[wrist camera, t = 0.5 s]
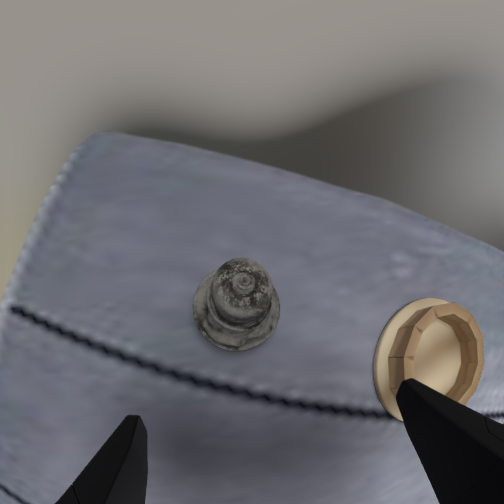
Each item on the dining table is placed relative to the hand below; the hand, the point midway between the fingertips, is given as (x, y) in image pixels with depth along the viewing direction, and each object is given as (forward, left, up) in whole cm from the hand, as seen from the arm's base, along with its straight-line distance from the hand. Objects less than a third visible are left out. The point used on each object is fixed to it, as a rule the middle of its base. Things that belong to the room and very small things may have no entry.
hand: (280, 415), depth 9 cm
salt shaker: (+5, -2, -14) cm, 15 cm away
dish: (-9, -14, -14) cm, 22 cm away
